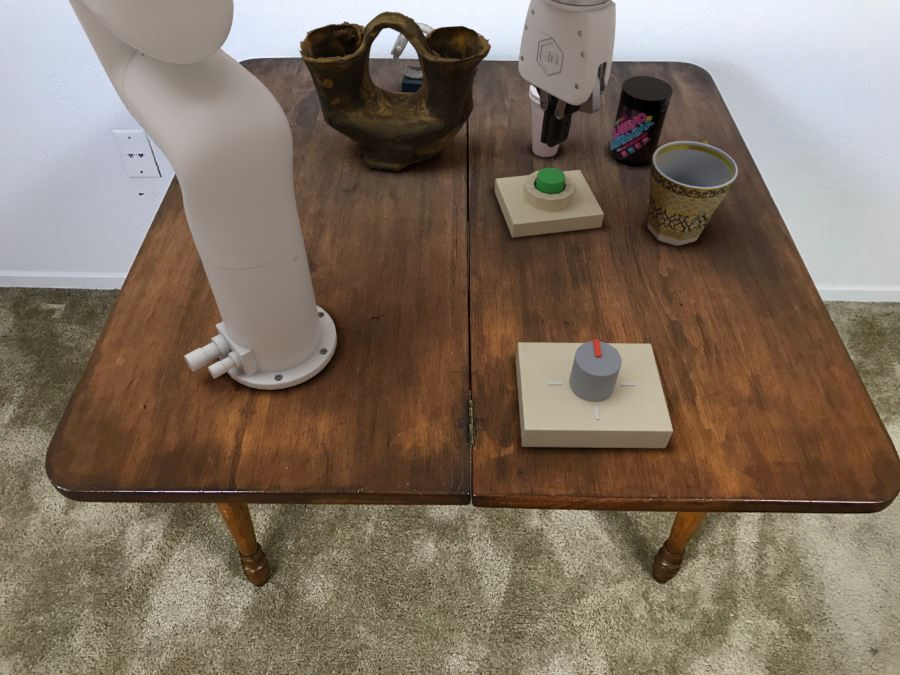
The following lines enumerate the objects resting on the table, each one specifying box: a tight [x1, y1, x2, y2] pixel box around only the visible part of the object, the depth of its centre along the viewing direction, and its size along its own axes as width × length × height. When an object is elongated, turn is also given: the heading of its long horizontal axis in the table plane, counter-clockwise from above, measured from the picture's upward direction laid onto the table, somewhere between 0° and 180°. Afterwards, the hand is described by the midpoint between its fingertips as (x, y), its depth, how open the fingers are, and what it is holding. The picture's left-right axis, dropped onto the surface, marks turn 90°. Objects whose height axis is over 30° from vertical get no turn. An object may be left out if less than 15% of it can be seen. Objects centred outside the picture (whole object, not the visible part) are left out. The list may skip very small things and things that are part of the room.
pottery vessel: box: [298, 10, 492, 172], centre depth 92 cm, size 25×11×20 cm, turn 86°
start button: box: [536, 167, 565, 194], centre depth 87 cm, size 4×4×2 cm
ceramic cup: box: [646, 138, 739, 247], centre depth 85 cm, size 13×10×10 cm
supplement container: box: [609, 75, 674, 167], centre depth 96 cm, size 7×7×10 cm
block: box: [494, 169, 605, 238], centre depth 89 cm, size 12×10×4 cm
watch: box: [390, 22, 435, 93], centre depth 107 cm, size 6×8×11 cm
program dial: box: [569, 338, 622, 401], centre depth 66 cm, size 4×4×4 cm
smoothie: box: [528, 84, 560, 158], centre depth 95 cm, size 6×6×14 cm
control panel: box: [515, 341, 674, 449], centre depth 68 cm, size 14×11×3 cm
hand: (553, 141), depth 83 cm, fingers closed
